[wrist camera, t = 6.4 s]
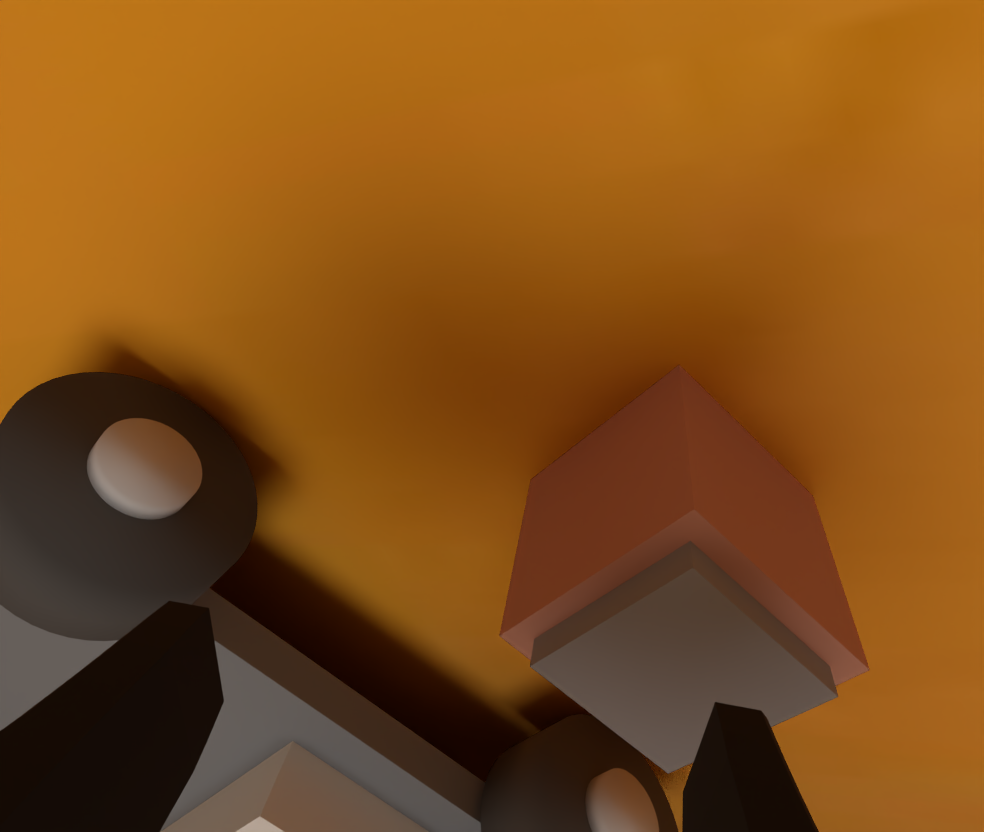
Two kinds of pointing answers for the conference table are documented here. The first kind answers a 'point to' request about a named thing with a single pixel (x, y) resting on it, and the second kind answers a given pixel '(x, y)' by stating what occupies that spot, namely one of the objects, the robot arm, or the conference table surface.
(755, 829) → the robot arm
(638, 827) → the chassis
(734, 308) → the conference table surface
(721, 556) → the brown capped block
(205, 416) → the loose wheel
